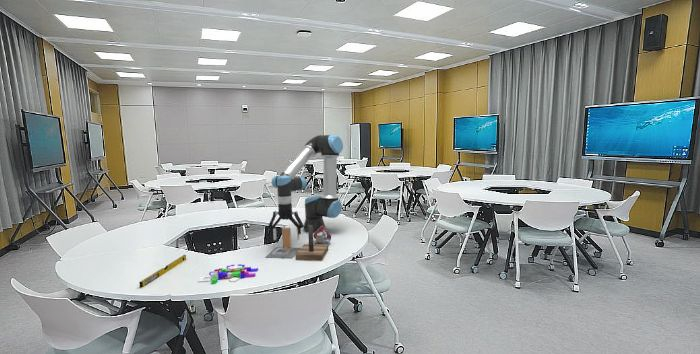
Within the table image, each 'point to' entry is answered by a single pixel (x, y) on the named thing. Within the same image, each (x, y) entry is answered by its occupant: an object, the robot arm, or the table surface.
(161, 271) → the spirit level
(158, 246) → the table surface
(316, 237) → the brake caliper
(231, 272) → the building block set
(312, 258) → the wooden peg stand
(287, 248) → the square frame with handle
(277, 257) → the rubber mat
